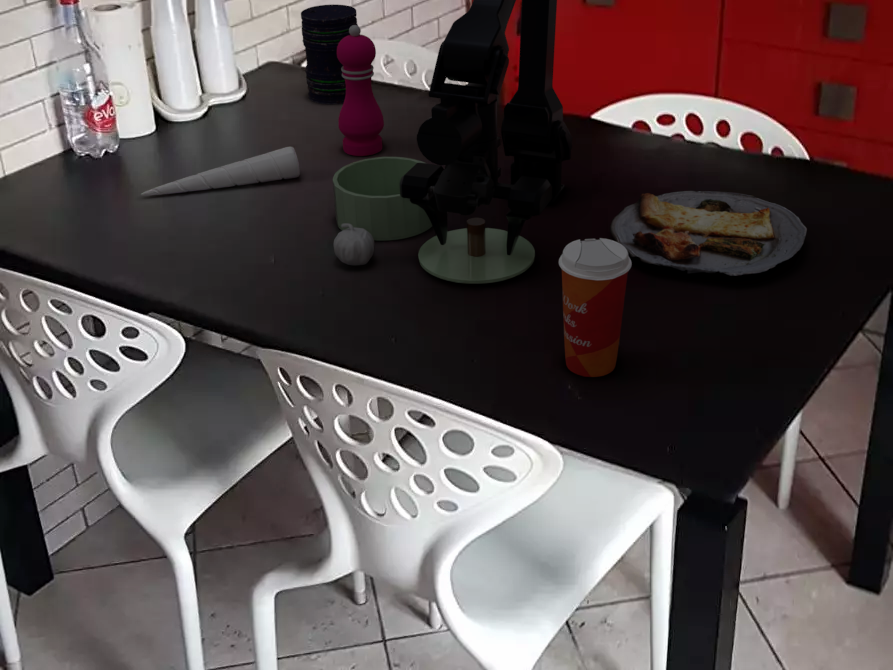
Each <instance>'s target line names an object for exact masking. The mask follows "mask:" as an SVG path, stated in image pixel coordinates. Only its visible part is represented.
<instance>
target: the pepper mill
mask: <svg viewBox="0 0 893 670" xmlns="http://www.w3.org/2000/svg"><path fill="white" fill-rule="evenodd" d="M361 32H362V30H361V28H360V26H359V25H358V26H357V25H352V26H351V27H350V28H349V33H350V35H348V36H346V37H344V38H343V39H342V40H341V41H340V42H339V44H338V46H337V58H338V60H339V61H340V63H341V64H342V65H343V66H342V68H341V71H342V77H343V78H345V83H346V96H345V100H344V103H342V106H341V108H340V111H339V115H338V123H337V124H338V130H339V131H340V133H341V134H342V135H343V136H344V137H343V138H342V149H343V152H344V153H345V154H346V155H349V156H352V157H367V156H373V155H375V154H378V153H380V152H381V151H382V150H383V137H382V136H381V135H380V133H381V132H382V131H383V129H384V126H385V121H384V120H385V119H384V115H383V112H382V110H381V108H380V105H379V103H378V102H377V99H376V97H375V95H374V92H373V91H374V90H373V86H372V77H374V75H375V72H374V69H375V67H374V65H373V64H372V63H373V62H374V61H375V59H376V55H377V49H376V47H375V46H376V45H375V43H374V41H373V40H372V39H371V38H370V37H369V36H366V35H364V34H361Z"/></svg>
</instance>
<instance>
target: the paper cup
mask: <svg viewBox="0 0 893 670" xmlns="http://www.w3.org/2000/svg"><path fill="white" fill-rule="evenodd" d="M628 252H629V251H627V249H626V248H625V247H624V246H623V245H622V244H620V243H618V242H616V241H615V240H613V239H609V238H603V237H599V239H596V238H585V239H584V240H581V239H576V240H573V241H571V242H569V243H567V244H566V245H565V247H564V248H563V250H562V253H561V255H560V257H559V258H558V266H559V267H560V269H561V286H562V289H561V290H562V314H563V337H564V338H563V339H564V340H563V341H564V356H565V357H564V358H565V365H566V368H567V369H568V370H569V371H570V372H571V373H573V374H574V375H578V376H581V377H585V378H598V377H599V378H600V377H604V376H606V375H608V374H610V373H612V372H613V371H614V370H615V368H616V364H617V361H618V353H619V347H620V346H619V345H620V338H621V330H622V322H623V315H624V308H625V307H624V306H625V298H626V289H627V283H628V282H627V281H628V275H629V274H628V273H629V271H630V270H631V268H632V265H633V264H632V263H633V262H632V260H631V257H630V255H629V253H628Z"/></svg>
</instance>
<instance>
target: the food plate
mask: <svg viewBox="0 0 893 670" xmlns="http://www.w3.org/2000/svg"><path fill="white" fill-rule="evenodd" d="M609 225H610V226H609V232H610V234H611V236H612V238H613V239H614V241H616V242H618V243H620V244H622V245H623V246H624V247H625V248H626V249H627V251H628V256H629V257H630V258H635V257H638V258H639V261H641V262H642V263H644V264H653V265H655V266H656V265H657V266H658V267H661V266H663V267H670V268H673V269H676V270H678V271H681V272H684V271H686V274H687V275H688V274H698V273H707V274H716V273H717V272H719V274H725V275H727V276H730V277H732V276H736V277H737V276H742V275H751V274H761V273H764V272H767V271H769V269H773V268H775V267H776V266H777V265H778V264H782V263H783V262H785V261H788V260H789V259H791V258H792V257H794V256H795V255H796V254H797V253H798V252H799V251H801V249H802V247H803V245H804V243H805V239H806V236H807V231H808V228H807V227H806V225H805V224H804V223H803V222H802V221H801V219H800V217H799V216H797V215H796V214H795V213H794V212H793V211H791V210H789V209H788V208H786V207H785V206H782V205H780V204H777V203H775V202H769V201H768V200H764V199H761V198H759V197H756V196H754V195H751V194H745V193H739V192H731V191H729V192H727V191H713V190H710V191H709V190H698V191H695V190H684V191H683V190H682V191H673V192H666V193H662V194H658V195H654V194H652V193H651V192H646V193H641V194H640V196H639V198H638V200H637V201H636V202H634V203H631V204H629V205H627V206H624V208H623V209H622V210H620V211H619V212H618V214H616V216H614V217H613V218H612V220H611V223H610V224H609Z"/></svg>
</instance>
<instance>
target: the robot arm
mask: <svg viewBox="0 0 893 670" xmlns="http://www.w3.org/2000/svg"><path fill="white" fill-rule="evenodd" d="M516 2H517V0H472V2H471V5H470V7H469V9H468V11H466V12H465V13H464V14H463V15H461V16H460V17H459V18H457V19H456V20H454V21H453V22H452V24H451V26H450V28H449V30H448V32H447V34H446V36H445V38H444V39H443V41H442V42H441V44H440V46H439V49H438V53H437V57H436V61H435V65H434V69H433V74H432V77H431V83H430V86H429V91H428V97H429V98H432V99H440V100H439V101H440V102H439V103H436V104H434V106H432V107H431V109H430V110H431V116H430V117H428V118H426V120H425V121H424V122H422V123H421V124H420V127H419V128H418V131H417V134H416V144H417V147H418V148H419V149H418V150H419V151H420V153H421V154H422V156H423V157H424V158H425V159H426V160H428V161H429V162H431V163H426V162H425V163H416V164H415V165H414V166H413V167H412V168H411V169H410V170H409V171H408V172H407V173H406V174H405V175H404V176H403V177H402V178H401V180H400V196H401V197H402V198H409V199H410V202H411V203H412V204H416V205H418V206H419V207H421V208H422V209H424V211H425V212H426V214H427V216H428V217H429V219H430V221H431V224H432V229H433V230H434V233H435V236H437V237H438V240H439V242H440V244H441V245H444V244H445V243H446V240H447V232H448V213H451V214H452V213H453V214H460V216H470V215H472V214H474V213H475V211H476V209H477V208H479V207H480V206H483V205H484V206H489V205H490V204H491V202H492V199H499V200H506V201H507V207H508V208H509V211H508V212H507V213H506V214H505V217H506V219H507V231H508V233H507V245H506V247H507V255H511V254H512V252H513V250H514V247H515V245H516V242H517V240H518V237H519V236H521V235H520V234H521V232H522V230H523V228H524V224H525V223H526V221H527V220H531V218H533V217H537V216H540V215H541V214H542V212H543V211H544V210H545V209H546V207H547V206H548V205H553V204H554V203H555V202H556V201H557V199H558V198H559V197H560V196H561V194H562V193H563V191H564V190H565V188H566V187H565V184H563V183H562V166H563V162H564V161H569V160H571V159H572V149H573V136H572V134H571V132H570V130H569V128H568V127H567V125H566V123H565V121H564V106H563V104H562V102H561V100H560V98H559V97H558V95H557V92H556V91H555V89H554V87H553V84H554V83H553V82H554V65H555V64H554V63H555V46H556V28H557V27H556V26H557V7H558V0H521V8H520V9H521V10H520V29H519V30H520V32H519V54H518V55H519V56H518V58H519V59H518V80H517V84H518V85H517V90H516V92H515V93H514V94H513V96H512V97H511V99H510V101H508V102H507V103H506V104H505V106H504V108H503V119H502V122H501V126H500V127H501V128H500V133H501V136H498V132H499V131H498V96H499V95H500V93H501V90H502V86H503V84H504V80H505V77H506V74H507V70H508V68H509V65H510V58H509V52H510V46H509V43H508V39H507V36H506V30H507V26H508V24H509V20H510V18H511V16H512V13H513V9H514V7H515V5H516ZM446 80H449V81H451V82H459V83H460V82H461V83H466V84H459V83H449V82H446ZM501 140H502V142H501ZM501 143H502V146H503V151H504V156H505V157H513V162H512V163H511V164H510V183H505V182H499V178H500V177H501V175H502V169H501V167H499V157H498V155H499V150H498V149H499V147H500V146H501ZM443 166H444V167H443Z"/></svg>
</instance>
